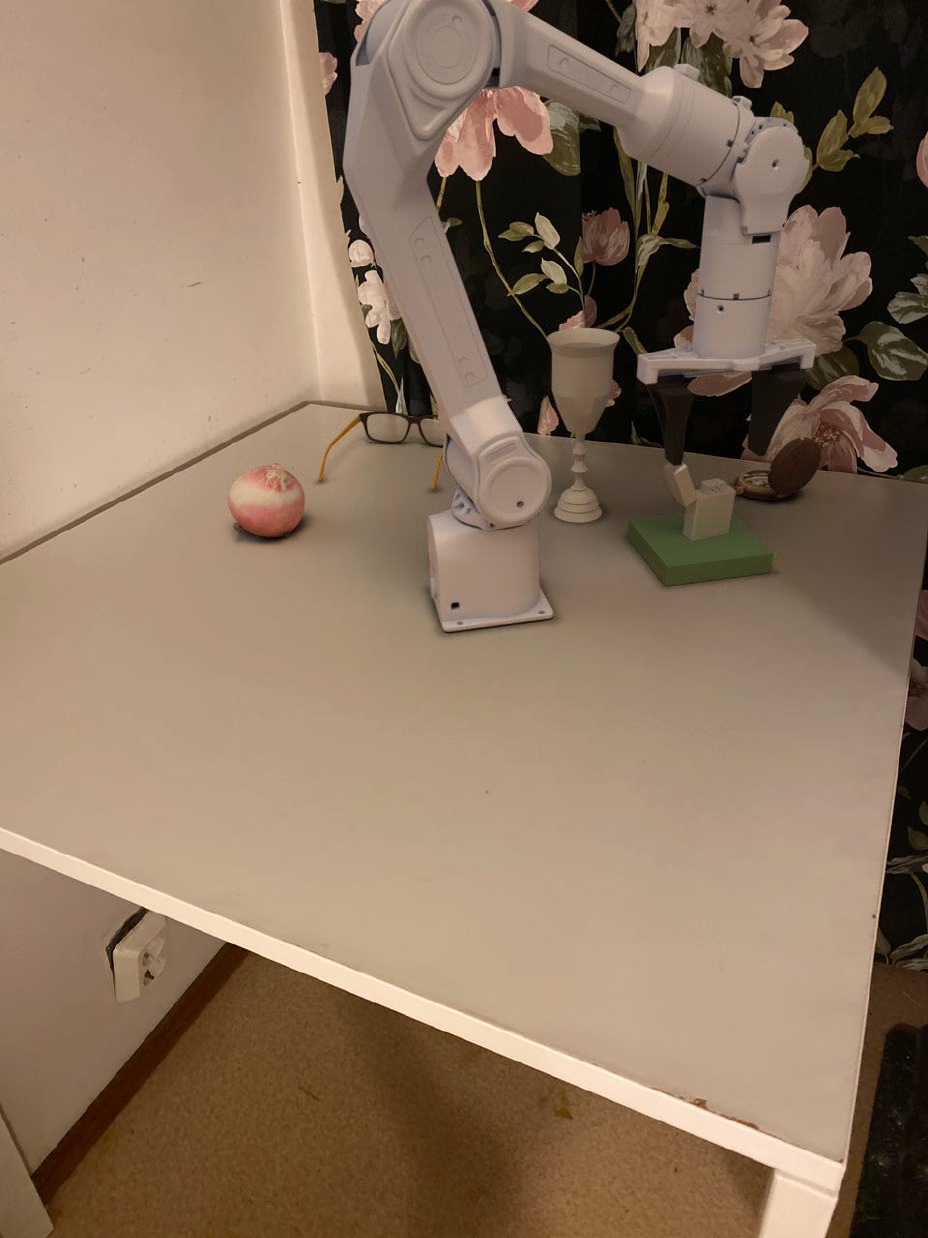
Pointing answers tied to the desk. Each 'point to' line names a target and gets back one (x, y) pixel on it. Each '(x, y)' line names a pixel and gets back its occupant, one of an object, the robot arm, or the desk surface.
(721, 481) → the lighter
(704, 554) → the block
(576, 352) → the chalice
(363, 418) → the eyeglasses
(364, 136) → the robot arm
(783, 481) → the compass
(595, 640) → the desk surface
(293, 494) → the onion
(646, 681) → the desk surface
